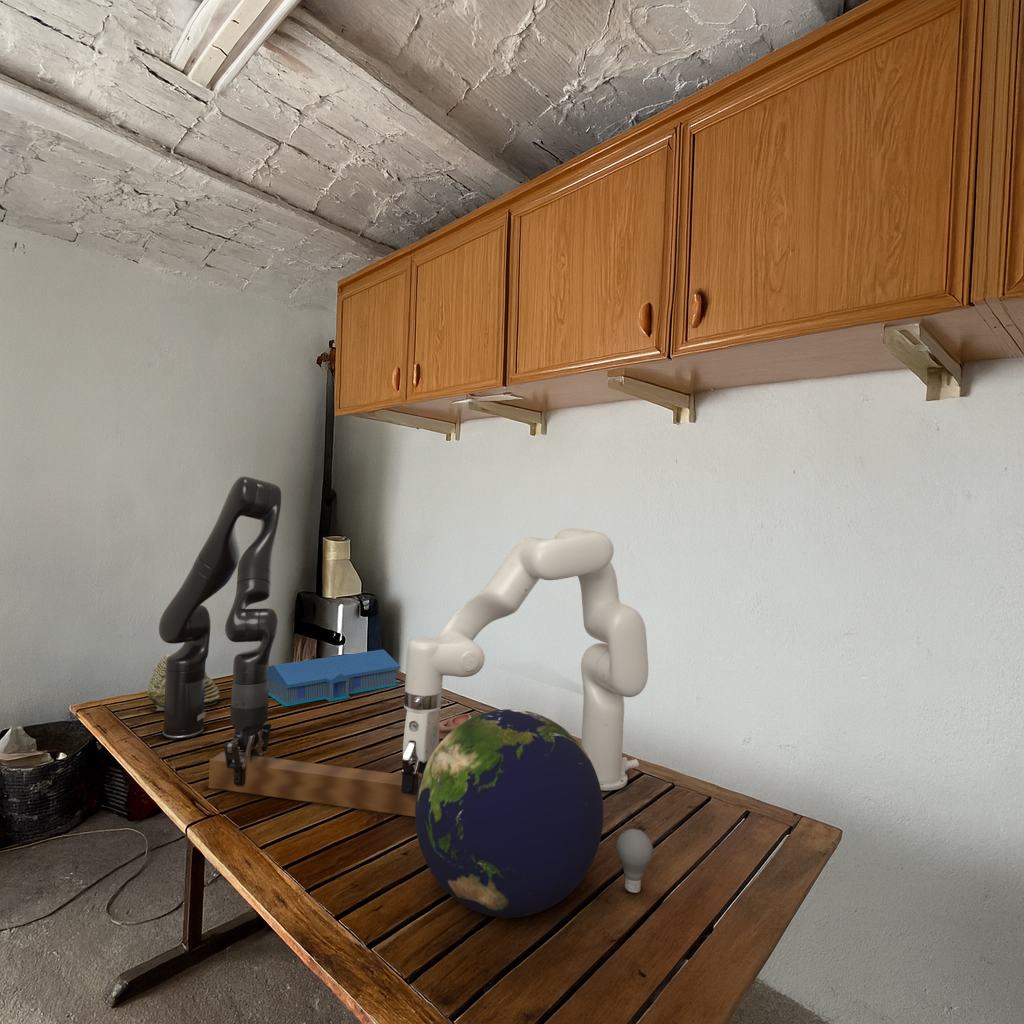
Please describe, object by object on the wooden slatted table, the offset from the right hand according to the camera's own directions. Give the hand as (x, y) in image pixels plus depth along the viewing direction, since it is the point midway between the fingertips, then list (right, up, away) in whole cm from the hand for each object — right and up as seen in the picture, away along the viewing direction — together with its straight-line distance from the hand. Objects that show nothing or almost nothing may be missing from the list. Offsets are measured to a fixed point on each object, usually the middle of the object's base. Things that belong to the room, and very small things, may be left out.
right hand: (417, 783), depth 129 cm
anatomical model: (+1, -5, +45) cm, 45 cm away
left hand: (-38, -2, +7) cm, 39 cm away
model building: (-40, -3, +79) cm, 88 cm away
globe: (+18, -7, -27) cm, 34 cm away
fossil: (-77, -2, +56) cm, 95 cm away
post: (-19, -5, +4) cm, 20 cm away
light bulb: (+39, -8, -23) cm, 46 cm away
